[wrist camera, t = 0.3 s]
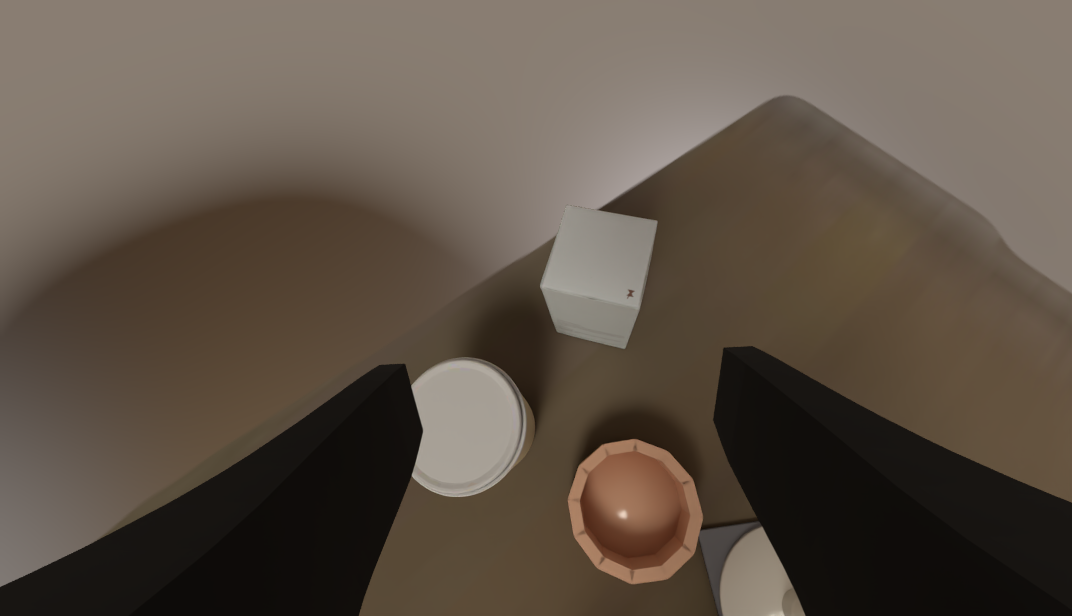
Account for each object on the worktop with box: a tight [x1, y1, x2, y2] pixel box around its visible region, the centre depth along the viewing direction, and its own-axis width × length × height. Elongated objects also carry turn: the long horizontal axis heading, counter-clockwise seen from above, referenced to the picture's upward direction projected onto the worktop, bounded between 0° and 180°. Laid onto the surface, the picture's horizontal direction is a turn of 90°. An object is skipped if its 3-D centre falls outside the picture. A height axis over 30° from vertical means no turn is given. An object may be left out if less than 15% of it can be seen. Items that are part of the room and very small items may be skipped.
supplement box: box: [540, 205, 658, 349], centre depth 35 cm, size 7×7×13 cm
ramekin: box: [568, 439, 703, 584], centre depth 33 cm, size 10×10×4 cm
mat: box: [698, 521, 762, 616], centre depth 31 cm, size 12×12×1 cm
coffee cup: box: [411, 357, 535, 497], centre depth 33 cm, size 9×9×12 cm
